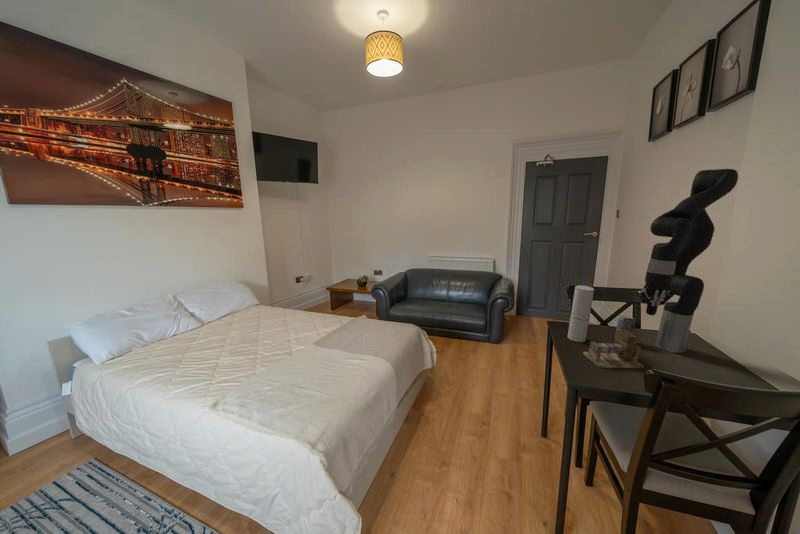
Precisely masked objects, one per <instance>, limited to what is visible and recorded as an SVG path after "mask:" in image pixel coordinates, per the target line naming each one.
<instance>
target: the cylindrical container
mask: <svg viewBox="0 0 800 534" xmlns="http://www.w3.org/2000/svg"><path fill="white" fill-rule="evenodd" d="M594 292H595V289H594V288H593V286H592V287H591V286H587V285H575V287H574V292H573V301H572V307H571V314H570V319H569V326H568V333H567V338H568V339H569V340H570V341H573V342H577V343H584V342H586V341H587V340H586V339H587V334H588V328H589V327H588V326H589V322H590V317H591V316H590V314H591V309H592V304H593V297H594Z"/></svg>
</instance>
